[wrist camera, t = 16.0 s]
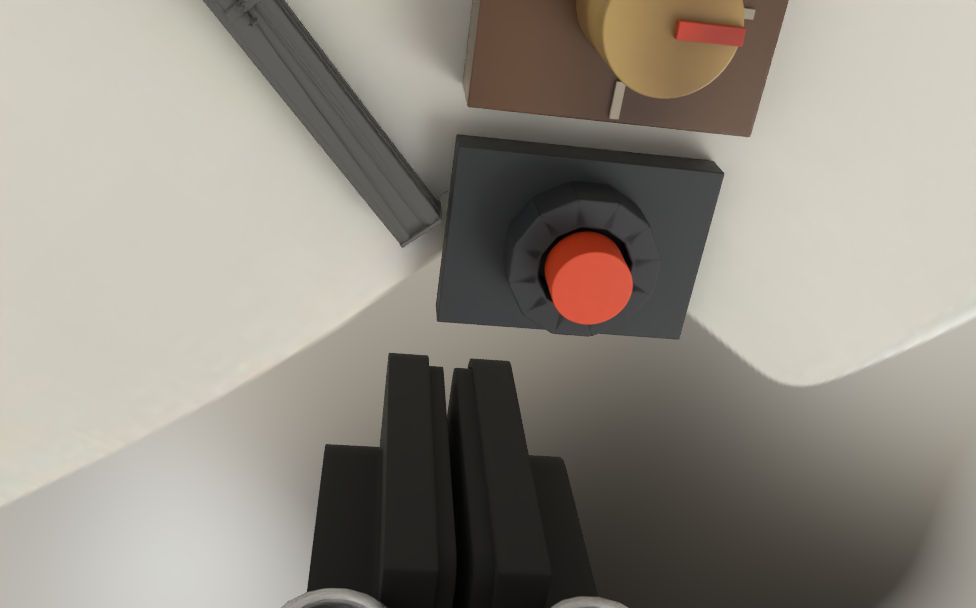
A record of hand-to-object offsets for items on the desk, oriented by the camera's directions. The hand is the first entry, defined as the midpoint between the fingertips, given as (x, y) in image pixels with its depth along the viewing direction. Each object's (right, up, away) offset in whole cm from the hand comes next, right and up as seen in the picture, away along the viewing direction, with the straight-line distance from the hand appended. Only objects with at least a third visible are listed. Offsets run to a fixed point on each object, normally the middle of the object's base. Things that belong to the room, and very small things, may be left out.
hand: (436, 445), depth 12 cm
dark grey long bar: (-7, +13, +21) cm, 26 cm away
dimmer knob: (+6, +13, +19) cm, 23 cm away
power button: (+5, +3, +24) cm, 24 cm away
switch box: (+4, +5, +26) cm, 27 cm away
